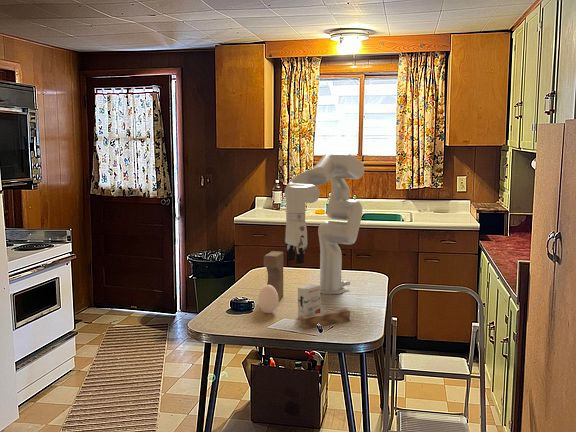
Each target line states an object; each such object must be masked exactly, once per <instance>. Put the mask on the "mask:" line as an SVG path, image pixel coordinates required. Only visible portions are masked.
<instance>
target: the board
mask: <svg viewBox="0 0 576 432" xmlns="http://www.w3.org/2000/svg"><path fill="white" fill-rule="evenodd" d="M299 319H300V320H299V321H300V325H299V327H300V328H302V329H303V330H307V329H308V330H309V329H313V328H318V327H317V324H318V323H319V324H320V325H322V326H321V327H325V326H330V325H335V324H340V323H346V322H350V321H351V311H350V310H349V309H347V308H340V309H335V310H331V311H330V310H329V311H324V312H320V313H317V314H311V315H305V316H300V317H299Z"/></svg>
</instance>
